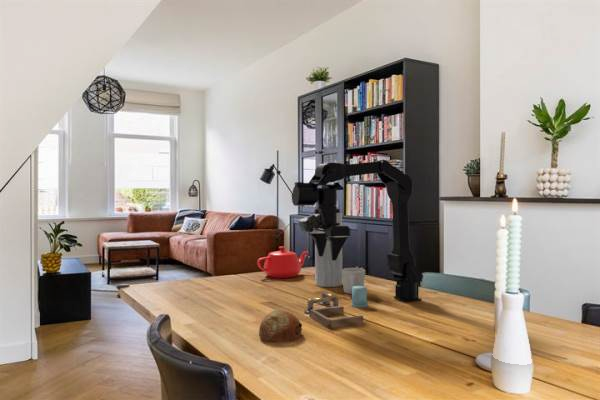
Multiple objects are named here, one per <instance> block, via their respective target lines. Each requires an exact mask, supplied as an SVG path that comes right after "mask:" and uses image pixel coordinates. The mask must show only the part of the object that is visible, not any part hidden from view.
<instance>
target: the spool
mask: <svg viewBox="0 0 600 400" xmlns="http://www.w3.org/2000/svg"><path fill="white" fill-rule="evenodd" d="M351 298H352V299H351V303H350V305H351V307H353V308H358V309H359V308H367V307H369V303H368V301H367V300H368V287H367V286H365V285H364V286H353V287H352V294H351Z"/></svg>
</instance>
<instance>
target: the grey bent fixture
mask: <svg viewBox="0 0 600 400" xmlns="http://www.w3.org/2000/svg"><path fill="white" fill-rule="evenodd" d="M331 302H332V307H337V306H339V297H337V296H336V295H333V294H332V293H329V292H327V291H325V290H323V291H322V292H321V297H318V298H317V297H315V298H309V299H308V300H307V309H304V311H303V313H304V314H306V315H309V309H314V304H318V305H320V306H329V305H330V304H331Z"/></svg>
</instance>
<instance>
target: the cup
mask: <svg viewBox="0 0 600 400" xmlns="http://www.w3.org/2000/svg"><path fill="white" fill-rule="evenodd" d="M365 278H366V269H364V268H360V267H345V268H342V286H343V291H344V293H345V294H349V295H352V287H353V286H364V287H365Z"/></svg>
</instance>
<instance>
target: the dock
mask: <svg viewBox="0 0 600 400" xmlns="http://www.w3.org/2000/svg"><path fill="white" fill-rule="evenodd" d="M344 308H345V307H344V306H342V305H338V306H337V307H333V306H328V307H318V308H313V309H309V314H308V315H309V318H311V319H313V320H314V321H315V322H317V323H319V324H320V325H322V326H324V327H325V328H327V329H334V328H343V327H353V326H359V325H361V326H362V325H364V316H363V315H356V316H355V315H354V316H345V317H344V316H343V317H337V318H336V317H335V318H329V317H328V316H337V315H344Z"/></svg>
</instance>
